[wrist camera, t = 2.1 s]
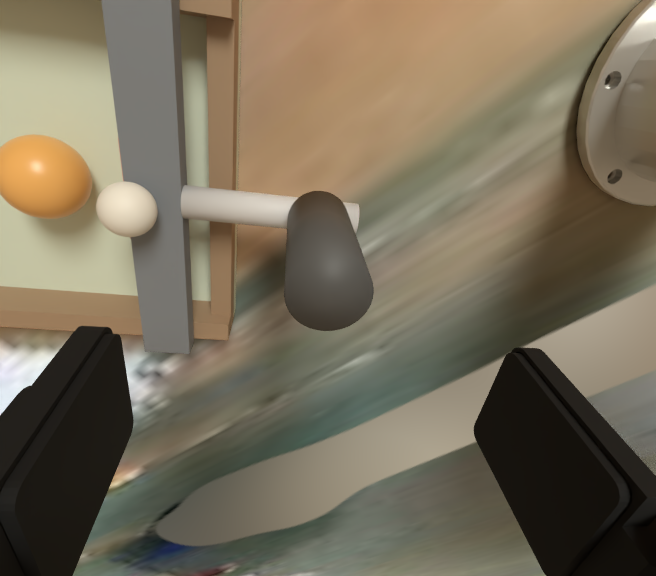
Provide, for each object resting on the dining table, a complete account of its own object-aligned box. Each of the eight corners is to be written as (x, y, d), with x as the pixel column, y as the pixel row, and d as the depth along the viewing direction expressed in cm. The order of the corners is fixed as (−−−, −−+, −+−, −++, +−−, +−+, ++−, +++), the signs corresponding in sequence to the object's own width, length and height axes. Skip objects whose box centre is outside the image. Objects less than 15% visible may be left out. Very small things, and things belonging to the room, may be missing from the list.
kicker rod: (379, 15, 18) (467, -34, 9) (328, 327, 27) (345, 466, 18) (114, -32, 17) (-112, -150, 7) (151, 315, 25) (69, 461, 16)
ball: (99, 134, 20) (59, 148, 17) (110, 208, 22) (76, 234, 19) (15, 123, 20) (-45, 136, 16) (33, 200, 22) (-16, 226, 18)
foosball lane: (241, -5, 19) (221, -31, 13) (235, 309, 27) (221, 367, 22) (-313, -102, 16) (-612, -183, 11) (-121, 284, 24) (-232, 344, 19)
